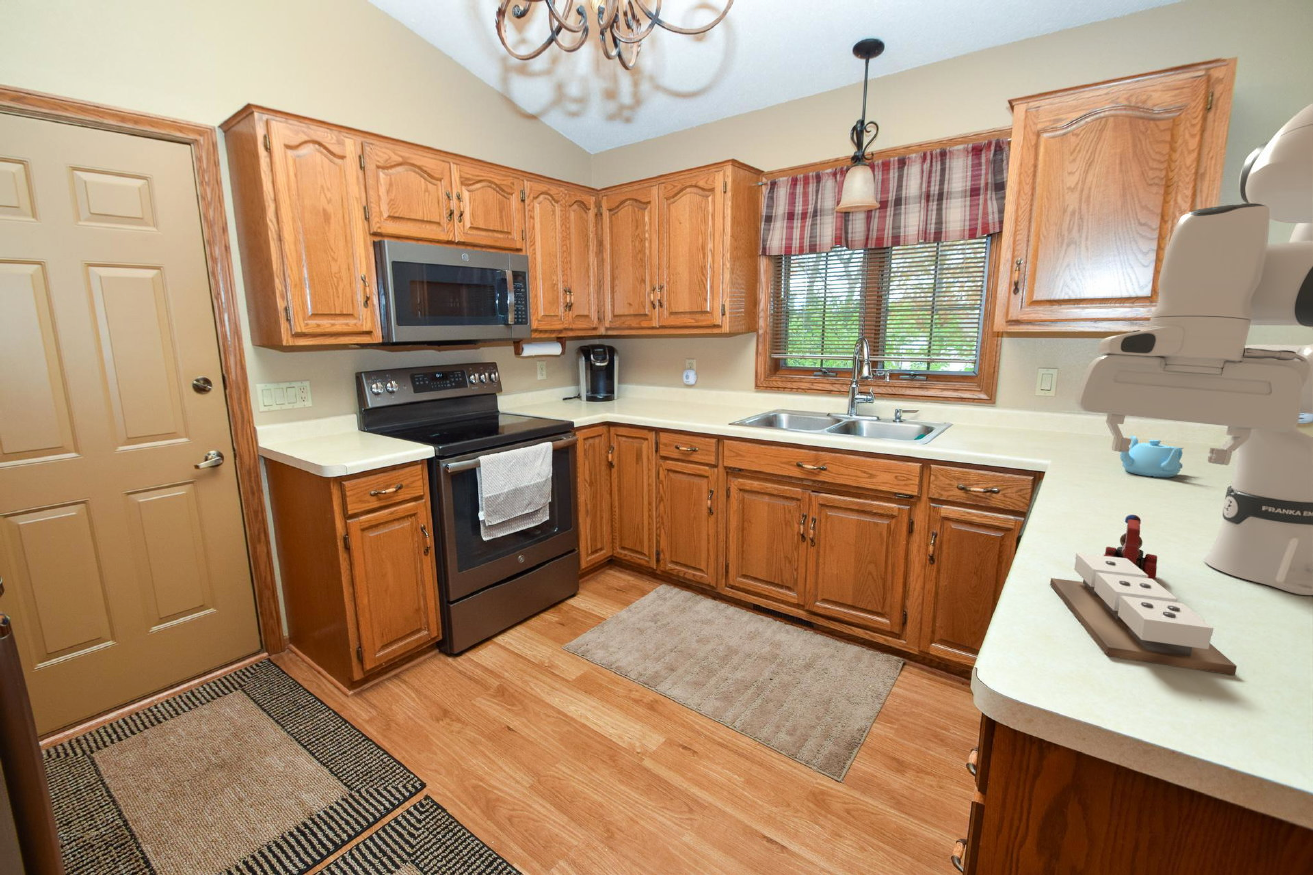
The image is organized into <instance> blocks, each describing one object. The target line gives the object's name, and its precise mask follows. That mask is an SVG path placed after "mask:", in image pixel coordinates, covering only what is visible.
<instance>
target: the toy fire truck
mask: <svg viewBox="0 0 1313 875" xmlns="http://www.w3.org/2000/svg"><path fill="white" fill-rule="evenodd" d="M1141 520H1142V519H1141V518H1140V516H1138V515H1135V514H1127V516H1126V517H1125V519H1124V522H1125V524H1126V532H1125V533H1124V534H1122V535H1121V536H1120V537H1119V538H1120V539H1119V544H1120V545H1121V546H1119V547H1117V548H1116V547H1113V546H1106V547H1105V552H1104V554H1103V555H1102V556H1109V557H1119V558H1127V559H1128V560H1130V561H1131V562H1132V563H1133V564H1135V565H1136V566H1137V567H1138V568H1140V569H1141V570H1142V571H1143V572H1144V573H1146V574H1147V575H1148V578H1150V579H1153V580H1154V581H1156V576H1157V568H1158V567H1157V565H1158V556H1157V554H1151V553H1146V554H1145V556H1144V550H1142V549H1140V548H1141V547H1142V546H1143V539H1142V537H1141V536H1140V535H1141V522H1142V521H1141Z"/></svg>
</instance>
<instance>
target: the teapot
mask: <svg viewBox="0 0 1313 875" xmlns="http://www.w3.org/2000/svg"><path fill="white" fill-rule="evenodd" d="M1129 437H1130V439H1132V440H1131V444H1130V445H1129V448H1130V449H1129V452H1128V453H1127V452H1120V453H1119V456H1120V460H1121V462H1122V467H1123V468H1124V469H1125V470H1126V472H1128V473H1131V474H1134V475H1138V476H1145V477H1151V476H1153V477H1152V478H1172V477H1173V478H1174V477H1175V476H1176V475H1177V474H1179V473H1180V471H1181V469H1182V468H1183V463H1182V462H1180V461H1181V459H1182V457H1183V449H1184V447H1178V446H1169V445H1167V444H1166V445H1165V444H1160V443H1161V442H1162V441H1161V440H1159V439H1149V440H1148V442H1149V443H1148V442H1139V440H1138V438H1137V436H1135V435H1132V434H1130V436H1129Z"/></svg>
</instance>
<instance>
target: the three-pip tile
mask: <svg viewBox="0 0 1313 875" xmlns="http://www.w3.org/2000/svg"><path fill="white" fill-rule="evenodd" d="M1119 603H1120V604H1119V610H1118V616H1119V617H1120V618H1121V619H1122V620H1123V621H1124V622H1125V623H1126V624H1127V625H1128V626H1129V627H1130V628H1131V629H1132V630H1133V631H1134V633H1135V634H1136V635H1137V636H1138V637H1139V638H1140V639H1141V640H1147V641H1154V642H1161V643H1168V644H1175V645H1182V646H1189V647H1196V648H1203V649H1209V645H1210V644H1211V640H1212V636H1213V634H1214V628H1213V626H1212V625H1210V624H1209V623H1208V622H1206V621H1205V620H1204V619H1203V618H1201V617H1200V616H1199V615H1198V614H1197V613H1195V612H1194V611H1193V610H1192V609H1190V608H1189V607H1188V606H1187V605H1185V604H1184V603H1183V602H1177V603H1176V602H1168V601H1160V600H1152V599H1144V598H1136V597H1128V596H1120V600H1119Z"/></svg>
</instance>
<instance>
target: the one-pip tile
mask: <svg viewBox="0 0 1313 875" xmlns="http://www.w3.org/2000/svg"><path fill="white" fill-rule="evenodd" d="M1074 558H1075V563H1074V571H1075V572H1076V573H1077V574H1078V576H1080V577H1081V578H1082V579H1084V580H1085V581H1086V582H1087V583H1088V584H1089V585H1090V586H1091V587H1095V581H1096V579H1095V578H1096V572H1097V573H1106V574H1115V575H1124V576H1132V577H1141V578H1148V575H1147V574H1146V573H1144V572H1143V571H1142V570H1141V569H1140V568H1138V567H1137V566H1136V565H1135V564H1133V563H1132V562H1131V561H1130V560H1128V559H1127V558H1119V557H1109V556H1103V555H1100V554H1099V555H1097V554H1090V553H1081V552H1079V553H1078V552H1075V557H1074Z"/></svg>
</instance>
